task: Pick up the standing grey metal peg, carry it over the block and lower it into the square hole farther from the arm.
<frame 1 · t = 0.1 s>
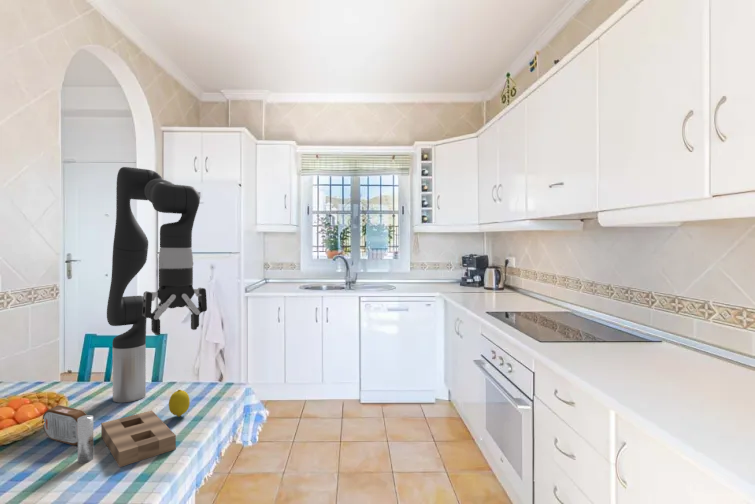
hand: (175, 331, 100), 29 cm above the table, tool pointing down, fingers open, 8 cm apart
tin: (66, 442, 104), on the table
lemon: (179, 417, 119), on the table
peg: (85, 459, 95), on the table
hole block: (137, 442, 103), on the table
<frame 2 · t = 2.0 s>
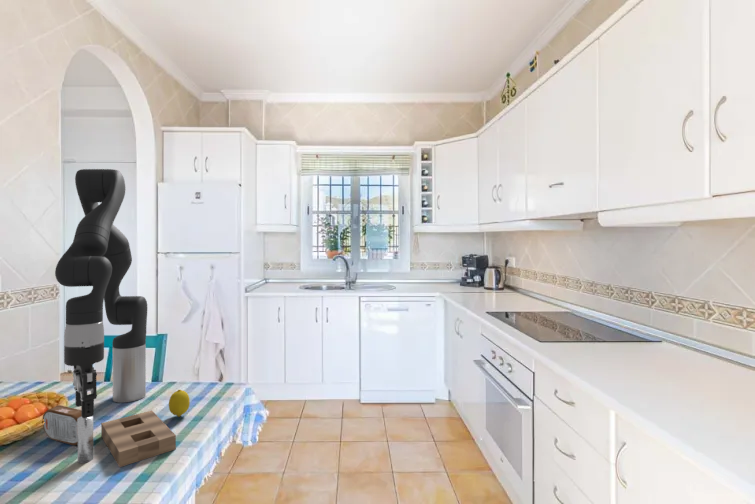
hand: (84, 411, 94), 12 cm above the table, tool pointing down, fingers open, 8 cm apart
nothing on the table moved.
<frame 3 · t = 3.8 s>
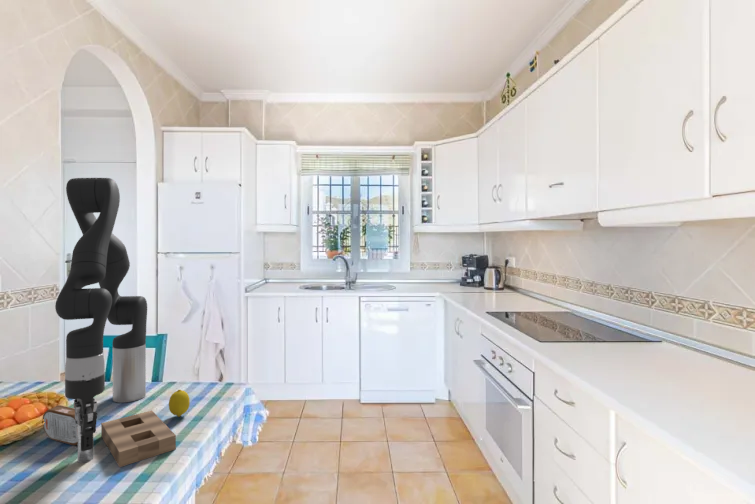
hand: (85, 446, 95), 3 cm above the table, tool pointing down, fingers closed on peg, 3 cm apart
peg: (85, 459, 95), on the table, touching gripper
everything else where it was.
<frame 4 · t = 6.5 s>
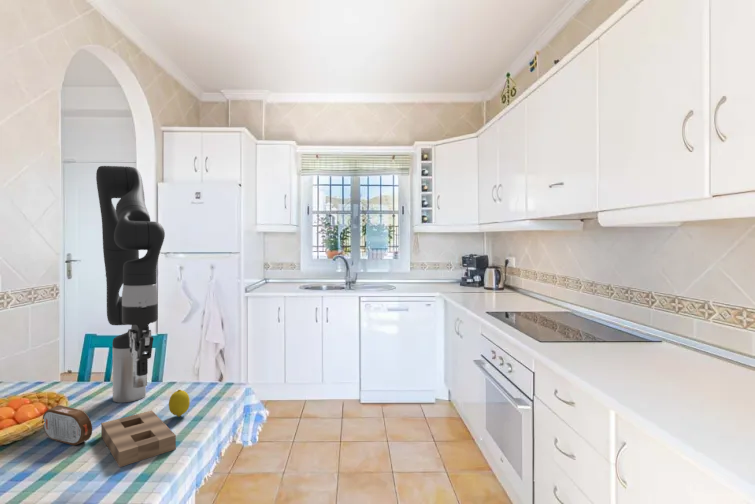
hand: (140, 373, 99), 19 cm above the table, tool pointing down, fingers closed on peg, 3 cm apart
peg: (140, 385, 99), point 16 cm above the table, touching gripper
everything else where it was.
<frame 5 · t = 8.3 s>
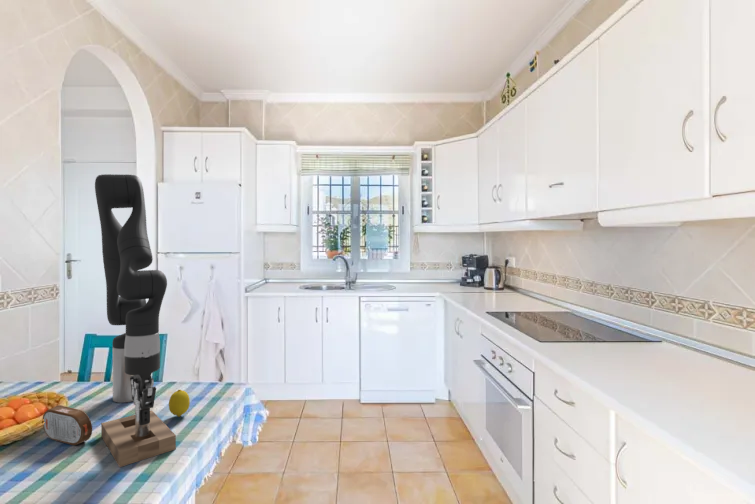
hand: (142, 421, 99), 7 cm above the table, tool pointing down, fingers closed on peg, 3 cm apart
peg: (142, 433, 100), point 4 cm above the table, touching gripper
everything else where it was.
when the fingers open (5 cm above the table, at t = 9.4 s): peg drops 1 cm, resting in hole block.
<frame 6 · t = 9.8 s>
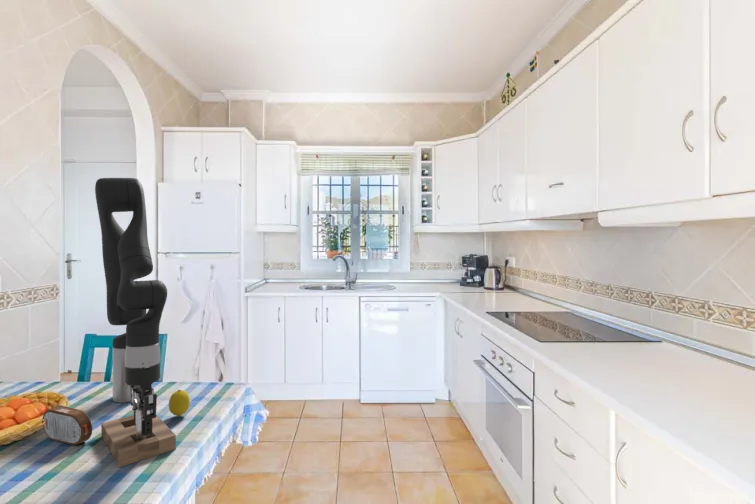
hand: (142, 429, 100), 5 cm above the table, tool pointing down, fingers open, 6 cm apart
peg: (142, 450, 100), resting in hole block
everything else where it was.
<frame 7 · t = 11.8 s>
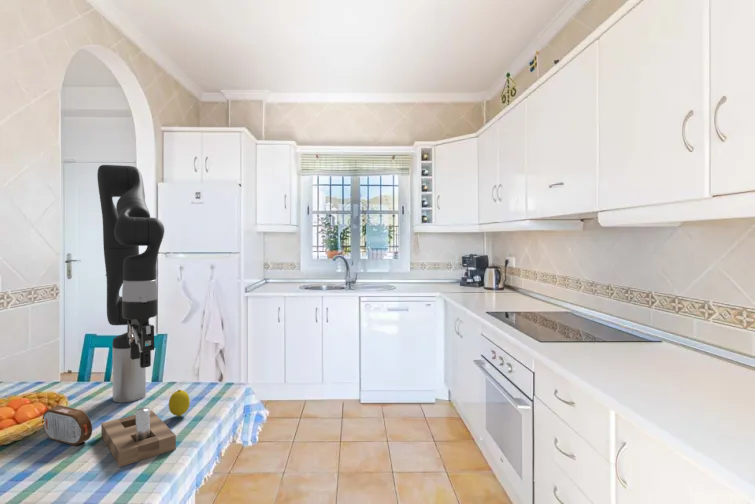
hand: (140, 362, 101), 21 cm above the table, tool pointing down, fingers open, 8 cm apart
nothing on the table moved.
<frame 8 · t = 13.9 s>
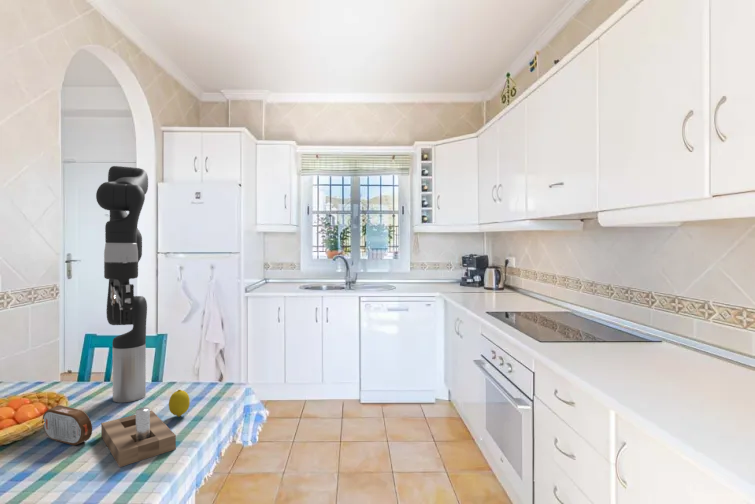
hand: (121, 322, 106), 30 cm above the table, tool pointing down, fingers open, 8 cm apart
nothing on the table moved.
at the end: peg 0.1 cm from the target spot on the hole block, point 0.0 cm above the hole block's base; peg tilted 0°; the gripper is holding nothing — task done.
